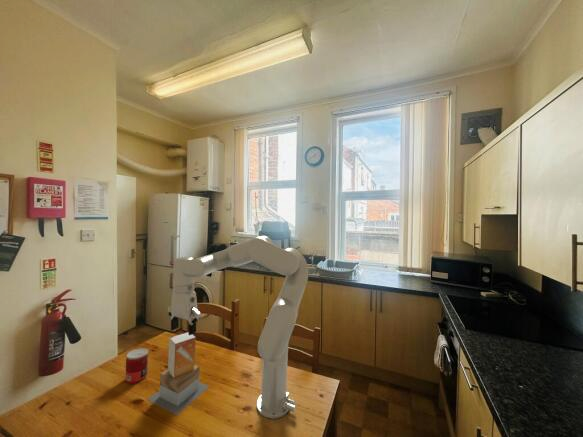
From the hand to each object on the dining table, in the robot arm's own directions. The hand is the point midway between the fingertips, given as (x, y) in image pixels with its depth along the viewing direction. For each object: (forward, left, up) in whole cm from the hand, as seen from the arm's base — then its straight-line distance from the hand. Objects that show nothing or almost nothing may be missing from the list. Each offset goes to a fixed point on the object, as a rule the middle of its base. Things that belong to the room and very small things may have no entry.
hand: (183, 331), depth 93 cm
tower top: (+1, 0, -20) cm, 20 cm away
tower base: (+1, 0, -24) cm, 24 cm away
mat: (+1, 0, -25) cm, 25 cm away
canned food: (+25, +2, -25) cm, 35 cm away
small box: (0, 0, -16) cm, 16 cm away
